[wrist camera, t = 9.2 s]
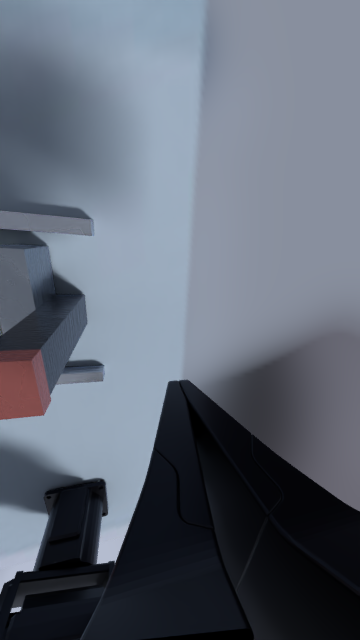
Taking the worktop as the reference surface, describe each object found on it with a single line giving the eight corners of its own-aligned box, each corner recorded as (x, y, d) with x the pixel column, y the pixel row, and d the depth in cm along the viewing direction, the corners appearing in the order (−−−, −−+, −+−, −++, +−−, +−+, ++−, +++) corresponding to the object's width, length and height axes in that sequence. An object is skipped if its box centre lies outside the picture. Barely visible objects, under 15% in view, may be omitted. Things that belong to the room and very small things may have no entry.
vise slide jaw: (92, 358, 18) (56, 468, 9) (39, 361, 17) (-53, 485, 8) (81, 248, 14) (9, 266, 6) (14, 244, 13) (-181, 257, 5)
